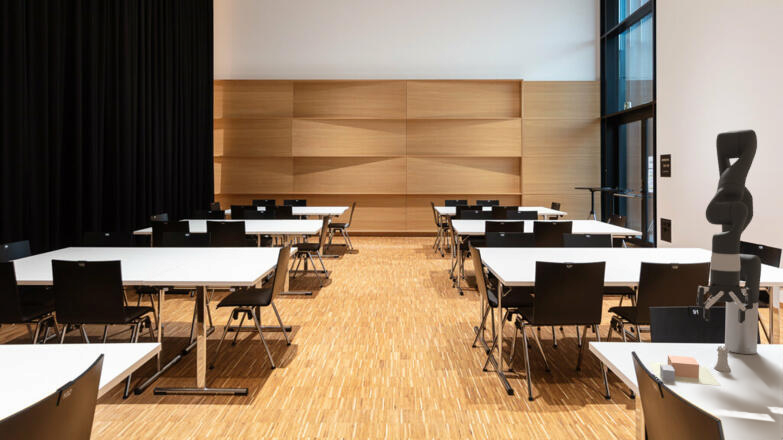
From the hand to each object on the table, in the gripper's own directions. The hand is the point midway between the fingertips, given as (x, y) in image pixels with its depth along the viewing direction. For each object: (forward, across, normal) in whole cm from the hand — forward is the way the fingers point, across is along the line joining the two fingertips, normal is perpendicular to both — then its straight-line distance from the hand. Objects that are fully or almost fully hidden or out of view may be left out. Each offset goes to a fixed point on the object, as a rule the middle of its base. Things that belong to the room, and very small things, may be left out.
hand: (723, 321), depth 160 cm
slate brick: (+15, +17, +12) cm, 26 cm away
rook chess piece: (+16, 0, 0) cm, 16 cm away
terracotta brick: (+15, +12, +7) cm, 20 cm away
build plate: (+16, +12, +7) cm, 21 cm away
